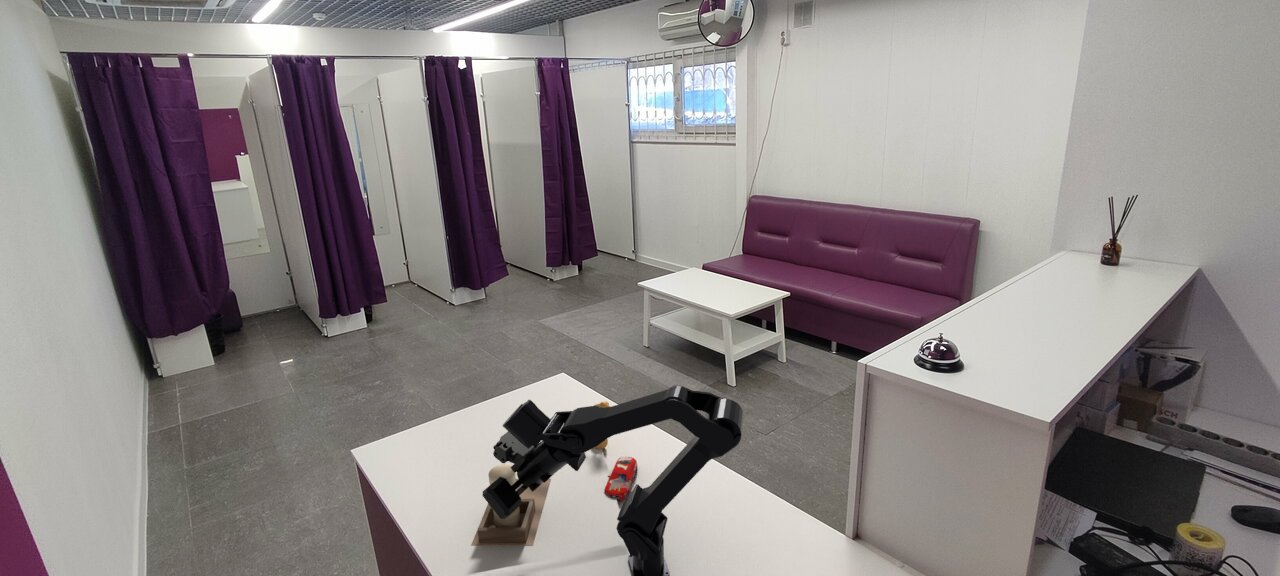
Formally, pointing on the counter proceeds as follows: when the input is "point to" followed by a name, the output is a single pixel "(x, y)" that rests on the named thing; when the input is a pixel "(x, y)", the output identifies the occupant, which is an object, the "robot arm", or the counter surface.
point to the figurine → (604, 443)
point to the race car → (621, 478)
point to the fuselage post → (508, 473)
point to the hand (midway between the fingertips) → (506, 491)
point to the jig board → (529, 521)
